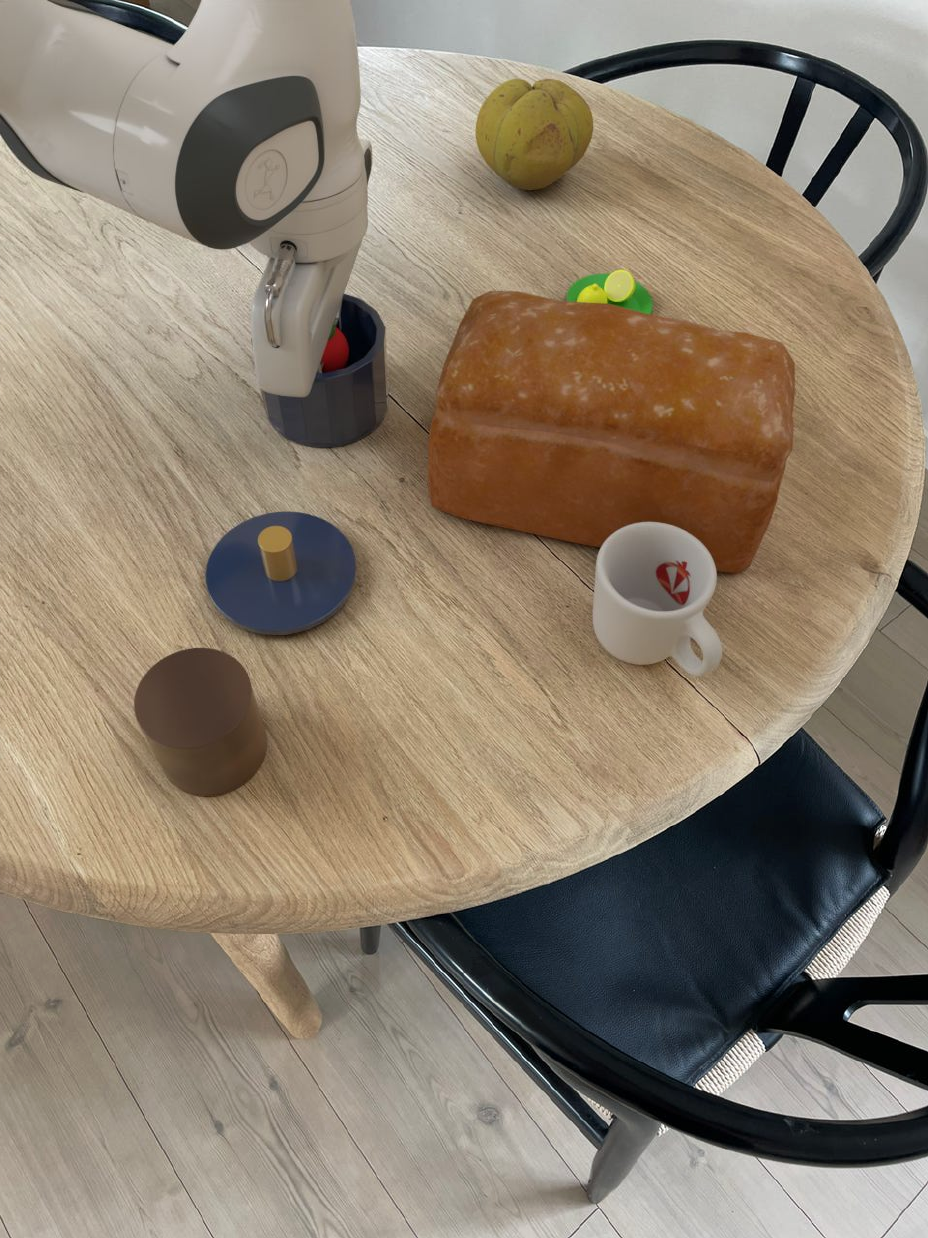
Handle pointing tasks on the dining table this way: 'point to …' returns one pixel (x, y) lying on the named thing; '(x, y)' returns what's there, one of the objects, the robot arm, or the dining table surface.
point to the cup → (655, 597)
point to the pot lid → (281, 573)
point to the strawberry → (335, 351)
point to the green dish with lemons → (611, 291)
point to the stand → (202, 721)
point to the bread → (610, 424)
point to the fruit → (533, 131)
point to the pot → (340, 388)
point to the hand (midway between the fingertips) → (321, 359)
